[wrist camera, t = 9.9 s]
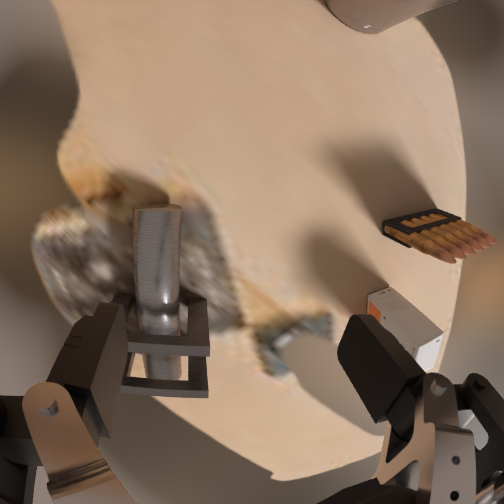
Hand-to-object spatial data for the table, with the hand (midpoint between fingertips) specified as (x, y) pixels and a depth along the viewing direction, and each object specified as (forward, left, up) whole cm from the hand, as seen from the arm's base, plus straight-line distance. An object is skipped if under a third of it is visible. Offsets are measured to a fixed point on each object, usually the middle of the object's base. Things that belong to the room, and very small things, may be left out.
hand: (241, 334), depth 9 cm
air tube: (+9, -5, -20) cm, 23 cm away
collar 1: (+10, -5, -20) cm, 23 cm away
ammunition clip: (-2, +26, -20) cm, 33 cm away
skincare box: (+11, +24, -20) cm, 33 cm away
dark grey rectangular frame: (+16, -5, -20) cm, 26 cm away
